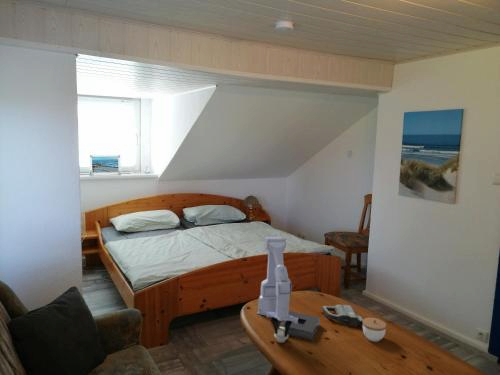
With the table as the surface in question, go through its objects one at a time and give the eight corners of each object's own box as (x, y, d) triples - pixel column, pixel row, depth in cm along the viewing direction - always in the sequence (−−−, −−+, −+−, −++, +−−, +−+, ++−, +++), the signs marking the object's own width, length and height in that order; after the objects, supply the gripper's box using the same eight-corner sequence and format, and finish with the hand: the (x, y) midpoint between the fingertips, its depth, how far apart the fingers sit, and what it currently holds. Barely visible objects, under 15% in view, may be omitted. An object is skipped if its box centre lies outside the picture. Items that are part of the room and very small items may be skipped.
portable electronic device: (347, 310, 208) (348, 301, 207) (367, 328, 188) (368, 318, 188) (320, 312, 204) (320, 303, 203) (337, 331, 184) (338, 321, 184)
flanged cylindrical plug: (272, 342, 173) (272, 330, 172) (276, 335, 179) (277, 324, 178) (285, 345, 170) (286, 333, 170) (290, 338, 176) (290, 327, 176)
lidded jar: (357, 333, 183) (358, 315, 182) (376, 331, 186) (378, 313, 184) (369, 345, 173) (370, 326, 171) (389, 343, 175) (391, 324, 174)
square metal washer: (279, 332, 181) (279, 324, 181) (288, 318, 196) (289, 310, 195) (311, 340, 175) (312, 332, 175) (319, 325, 190) (319, 317, 189)
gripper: (264, 306, 171) (263, 334, 173) (295, 313, 166) (294, 342, 168) (270, 300, 178) (268, 327, 180) (299, 306, 172) (298, 334, 174)
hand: (281, 334), depth 174 cm, fingers closed on flanged cylindrical plug, 4 cm apart
